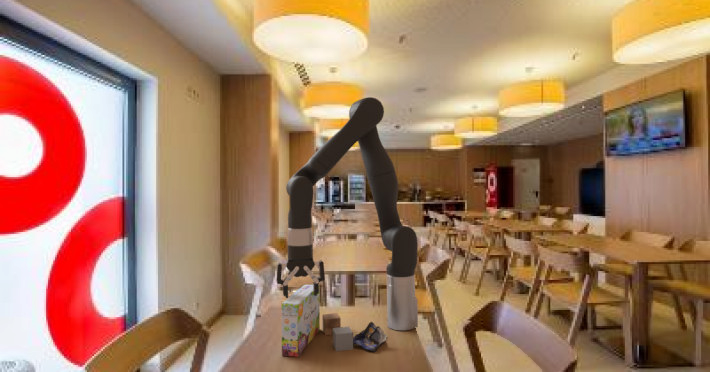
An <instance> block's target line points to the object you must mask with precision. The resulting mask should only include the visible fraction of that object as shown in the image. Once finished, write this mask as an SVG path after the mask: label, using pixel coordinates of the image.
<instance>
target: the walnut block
mask: <svg viewBox="0 0 710 372" xmlns="http://www.w3.org/2000/svg"><path fill="white" fill-rule="evenodd" d="M321 317H322V318H321V319H322V321H321V322H322V332H323V333H324V335H325V336H328V335H333V328H340V327H342V326H341V325H342V324H341V316H340V314H339V312H333V313H324V314H323V313H322V314H321Z"/></svg>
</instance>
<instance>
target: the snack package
mask: <svg viewBox="0 0 710 372" xmlns="http://www.w3.org/2000/svg"><path fill="white" fill-rule="evenodd" d="M386 340H387V335H386V334H385V332H384V330H383V329H382V328H381V327H380V326H379V325H376V324H375V323H374V322H373V321H370V322H369V323H368V324H367V325H366V327H365V329H363V330H361V331H360V332H359V333H357V334H355V335H354V336H353V345H359V346H360V347H361V348H362V350H364V351H366V352H372V353H375V352H376V351H377V349H378V347H379V346H381V344H382V343H384V342H386ZM371 343H373V344H371Z"/></svg>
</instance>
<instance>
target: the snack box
mask: <svg viewBox="0 0 710 372" xmlns="http://www.w3.org/2000/svg"><path fill="white" fill-rule="evenodd" d="M319 288H320V284H319ZM280 305H281V356H287V357H292V358H293V357H294V358H299V356H300V355H301V354H302V352H303V351H304V350H305V349H306V348H307V346H308V345H309V344H310V343H311V341H312V340H313V339H314V338H315V337H316V335H317V334H318V333H319V332H320V331H321V328H320V324H321V323H320V314H321V313H320V292H319V293H318V294H317V296H314V293H313V284H304V285H303V286H301V287H300V288H299V289H298V290H296V291H295V292H293V294H292V295H290V296H288V298H286V299H285V300H284V301H283V302H282V303H281V304H280Z"/></svg>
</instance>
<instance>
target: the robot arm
mask: <svg viewBox="0 0 710 372" xmlns="http://www.w3.org/2000/svg"><path fill="white" fill-rule="evenodd" d="M384 115H385V108H384V105H383V103H382V102H381V100H379V99H378V98H376V97H371V96H370V97H369V96H368V97H363V98H361V99H359V100H357V101H354V102H353V103H352V104H351V106H350V107H349V111H348V118H349V120H348V121H347V122H346V123H345V124H344V125H343V126H342V127H341V128H340V129H339V130H338V131H337V132H336V133H335V134H334V135H332V136H331V137H330V138H329V139H328V140H327V141H326V142H325V143H323V144H322V145H321V146H320V147H319V149H317V150H316V151H315V153H313V155H312V156H311V157H310V158H309V160H308V161H306V163H305V164H304V165H303V166H302V167H301V168H300V169H298V170H297V171H296V172H295V173H294V174H293V175H292V176H291V177H290V178H289V179H288V181H287V184H286V185H285V186H286V187H285V189H286V193H287V195H288V196H289V211H288V214H287V223H288V224H287V239H286V240H287V241H286V242H287V261H286V262H285V263H283V262H282V263H281V262H279V261H278V262H277V264H276V281H275V282H276V284H277V285H281V286H282V295H283V297H285V299H288V298H289V285H288V284H289V282H290V281H291V280H293V278H300V277H303V278H307V276H309V277H310V279H312V280H313V283H312V285H313V293H314V296H317V294H318V293H319V294H320V287H319V285H320V283H321V282H324V281H325V279H326V276H325V266H324V264H325V263H324V261H323V260H322V259H319V260H317V261H314V245H313V244H314V235H313V224H312V223H313V219H312V218H313V217H312V208H313V202H314V187H315V185H316V184H317V183H318V182H319V181H320V180H323V179H324V178H325V177H326V176H327V175H328V174H329V173H330V172H331V171H332V170H333V169H334V167H336V165H337V164H338V163H339V162H340V161H341V159H342V158H344V156H345V155H346V153H348V151H350V149H351V148H353V146H354V145H355V144H356V143H357V142H358V146H359V149H360V153H361V157H362V161H363V166H364V170H365V175H366V178H367V181H368V186H369V188H370V192H371V195H372V199H373V202H374V207H375V210H376V214H377V217H378V218H377V219H378V225H379V230H380V235H381V236H380V237H381V242H382V244H383V246H384V247H385V248H386V249H387V250H388V251H390V252H391V262H390V263H388V264H387V265H386V269H385V271H386V314H387V315H386V318H387V319H386V320H387V323H386V324H387V327H388V328H389V329H391V330H394V331H410V330H413V329H415V328H418V327H419V323H418V320H419V317H418V316H419V315H418V314H419V312H418V308H419V307H418V297H416V277H415V276H416V275H415V274H416V273H415V271H416V267H417V263H418V246H419V245H418V243H419V242H418V236H417V233H416V231H415V230H414V229H413V228H412V227H410V226H408V225H403V224H402V221H401V219H400V215H399V212H398V195H399V181H398V177H397V174H396V173H397V172H396V169H395V166H394V164H393V161H392V159H391V157H390V155H389V154H388V152H387V150H386V149H385V147H384V146H383V144H382V141H381V139H380V135H379V132H378V127H377V126H378V125H379V124H380V123H381V122H382V120H383V118H384ZM315 266H316V268H317V269H318V271H319V272H318V275H319V276H318V277H317V275H315V274H314V272H313V271H312V270H313V269H314V267H315ZM285 268H286V269H287V270H288V273H287V274H286V275H285V277H284V279H282V272H283V271H284V270H285Z"/></svg>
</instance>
